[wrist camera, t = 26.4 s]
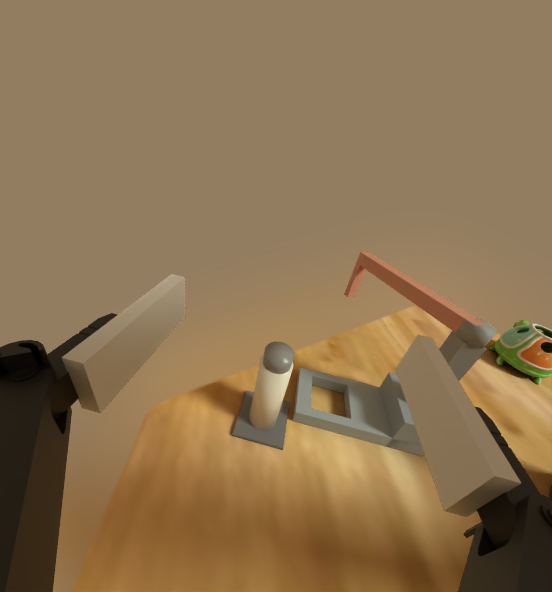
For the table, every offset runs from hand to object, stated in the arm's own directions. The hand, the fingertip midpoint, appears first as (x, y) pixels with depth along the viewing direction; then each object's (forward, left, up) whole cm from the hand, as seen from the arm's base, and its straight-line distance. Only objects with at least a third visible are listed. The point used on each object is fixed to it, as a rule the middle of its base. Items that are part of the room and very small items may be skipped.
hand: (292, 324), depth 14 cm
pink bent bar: (-19, -28, -17) cm, 38 cm away
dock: (-16, -19, -30) cm, 39 cm away
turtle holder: (-65, -49, -30) cm, 87 cm away
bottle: (0, -13, -29) cm, 32 cm away
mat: (0, -13, -30) cm, 33 cm away
